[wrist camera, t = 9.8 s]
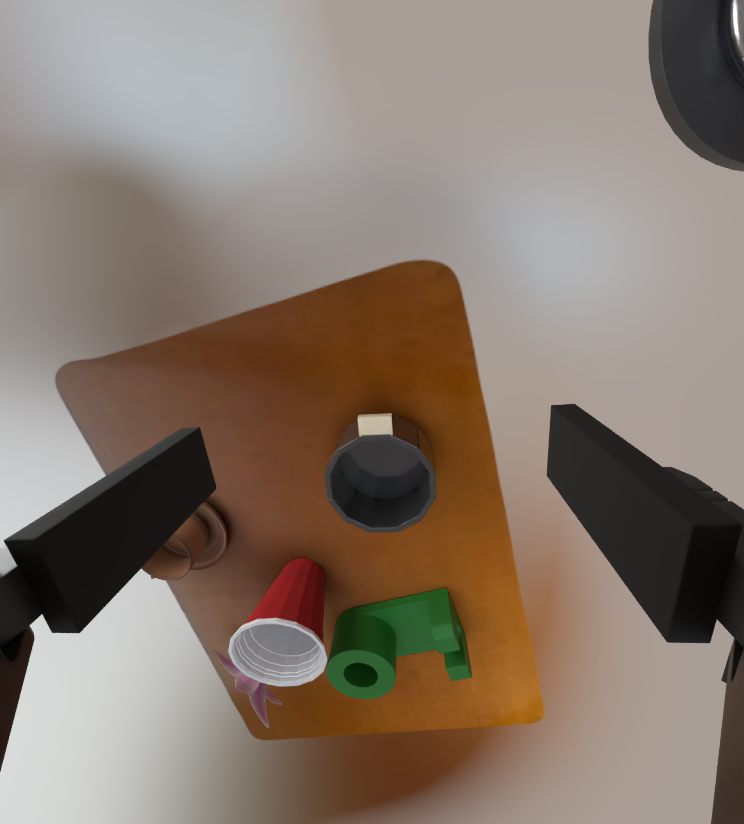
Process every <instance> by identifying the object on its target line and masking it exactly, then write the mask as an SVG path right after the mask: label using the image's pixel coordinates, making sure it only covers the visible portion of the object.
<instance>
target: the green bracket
mask: <svg viewBox="0 0 744 824" xmlns="http://www.w3.org/2000/svg"><path fill="white" fill-rule="evenodd" d="M437 649H438V651H439V653H444V655H445V665H446V670H447V672H448V674H449V677H450V679H451V681H454V680H461V679H467V678H472V671H471V665H470V660H469V654H468V648H467V642H466V636H465V633H464V631H463V628H462V625H461V623H460V620H459V618H458V615H457V613H456V610H455V608H454V605H453V602H452V600H451V597H450V595H449V592H448V590H447V588H443V589H438V590H434V591H429V592H425V593H420V594H415V595H411V596H406V597H401V598H397V599H392V600H388V601H383V602H378V603H374V604H369V605H364V606H360V607H355V608H352V609H349V610H347V611H345V612H344V613H342V614H341V615H340V616H339V618H338V619H337V622H336V626H335V631H334V635H333V640H332V645H331V650H330V654H329V659H328V664H327V670H326V673H327V677H328V680H329V681H330V683H331V684H332V685H333V687H334V688H336V689H337V690H338V691H340V692H341V693H343V694H345V695H347V696H350V697H353V698H358V699H374V698H378V697H381V696H383V695H385V694H387V693H388V692H389V691H390V690H391V689H392V688H393V686H394V684H395V679H396V657H399V656H404V655H410V654H415V653H420V652H426V651H431V650H437Z"/></svg>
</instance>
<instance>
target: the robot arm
mask: <svg viewBox="0 0 744 824" xmlns="http://www.w3.org/2000/svg"><path fill="white" fill-rule="evenodd" d="M719 32H720V40H721V46H722V50H723V54H724V57H725V60H726V62H727V65H728V67H729V69H730V71H731V73H732V74H733V76H734V77H735V79H736V80H737V82H738V83H739V84H740V85H741V86H742V87H743V88H744V0H721V1H720V10H719ZM547 476H548V478H549V479H550V480H551V482H552V484H553V485H554V486H555V488H556V489H557V490H558V492H559V493H560V495H561V496H562V497H563V499H564V500H565V502H566V503H567V504H568V506H569V507H570V508H571V510H572V511H573V513H574V514H575V515H576V517H577V518H578V520H579V521H580V522H581V524H582V525H583V526H584V528H585V529H586V531H587V532H588V533H589V535H590V536H591V537H592V539H593V540H594V542H595V543H596V544H597V546H598V547H599V549H600V550H601V551H602V553H603V554H604V556H605V557H606V558H607V560H608V561H609V562H610V564H611V565H612V567H613V568H614V569H615V571H616V572H617V574H618V575H619V576H620V578H621V579H622V580H623V582H624V583H625V585H626V586H627V587H628V589H629V590H630V592H631V593H632V594H633V596H634V597H635V598H636V600H637V601H638V603H639V604H640V605H641V607H642V608H643V610H644V611H645V612H646V614H647V615H648V616H649V618H650V619H651V621H652V622H653V623H654V625H655V626H656V628H657V629H658V630H659V632H660V633H661V635H662V636H663V637H664V639H665V640H666V641H667V642H670V643H671V642H673V643H710V641H711V638H712V634H713V631H714V627H715V623H716V620H718V621H719V622H720V623H721V624H722V625H723V626H724V627H725V628H726V629H727V630H728V632H729V633H730V634H731V635H732V636H733V637H734V641H733V644H732V647H731V651H730V654H729V657H728V661H727V664H726V667H725V670H724V673H723V677H722V681H723V682H725V683H727V685H726V694H725V703H724V712H723V721H722V730H721V739H720V748H719V757H718V766H717V775H716V785H715V794H714V803H713V812H712V820H711V824H744V509H742V508H741V507H739V506H738V505H736V504H735V503H733V502H732V501H728V499H727V498H726V497H724V496H723V495H721V494H720V493H718V492H717V491H713V490H712V488H711V487H709V486H708V485H706V484H705V483H703V482H702V481H700V480H699V479H697V478H696V477H694V476H692V475H689V474H687V473H685V472H682V471H680V470H677V469H675V468H672V467H662V466H660V465H659V464H658V463H656V462H655V461H653V460H652V459H651V458H649V457H648V456H646V455H645V454H644V453H642V452H641V451H639V450H638V449H637V448H635V447H634V446H632V445H631V444H630V443H628V442H627V441H625V440H624V439H623V438H621V437H620V436H619V435H617V434H616V433H614V432H613V431H612V430H610V429H609V428H607V427H606V426H605V425H603V424H602V423H600V422H599V421H598V420H596V419H595V418H593V417H592V416H591V415H589V414H588V413H587V412H585V411H584V410H582V409H581V408H580V407H578V406H577V405H575V404H565V405H552V406H551V417H550V432H549V449H548V465H547ZM215 490H216V484H215V481H214V477H213V473H212V470H211V466H210V463H209V459H208V455H207V452H206V448H205V444H204V441H203V437H202V434H201V430H200V427H195V428H181V429H180V430H178V431H177V432H175V433H173V434H172V435H170V436H169V437H167V438H166V439H164V440H162V441H161V442H159V443H158V444H156V445H154V446H153V447H151V448H150V449H148V450H147V451H145V452H143V453H142V454H140V455H139V456H137V457H135V458H134V459H132V460H131V461H129V462H127V463H126V464H124V465H123V466H121V467H120V468H118V469H116V470H115V471H113V472H112V473H110V474H108V475H107V476H105V477H104V478H102V479H101V480H99V481H97V482H96V483H94V484H93V485H91V486H89V487H88V488H86V489H85V490H83V491H81V492H80V493H79V494H77V495H75V496H74V497H72V498H70V499H69V500H67V501H66V502H64V503H63V504H61V505H59V506H58V507H56V508H55V509H53V510H51V511H50V512H48V513H47V514H45V515H44V516H42V517H40V518H39V519H37V520H36V521H34V522H32V523H31V524H29V525H28V526H26V527H24V528H23V529H21V530H20V531H18V532H16V533H15V534H13V535H12V536H10V537H9V538H7V539H5V540H4V542H5V544H6V545H4V546H3V547H1V548H0V771H1V767H2V763H3V759H4V755H5V752H6V748H7V744H8V740H9V736H10V732H11V728H12V724H13V720H14V717H15V712H16V709H17V704H18V701H19V697H20V693H21V689H22V686H23V681H24V678H25V674H26V670H27V666H28V662H29V658H30V654H31V651H32V646H33V642H34V633H33V631H32V630H31V628H30V626H29V625H30V624H31V623H33V622H34V621H35V620H36V619H37V618H38V617H39V616H40V615H41V614H43V616H44V618H45V620H46V622H47V624H48V626H49V628H50V630H51V631H52V633H80V632H81V631H82V630H83V629H84V628H85V627H86V626H87V625H88V624H89V623H90V621H92V619H93V618H94V617H95V616H96V615H97V614H98V613H99V612H100V611H101V610H102V609H103V608H104V607H105V606H106V604H108V603H109V601H110V600H111V599H112V598H113V597H114V596H115V595H116V594H117V593H118V592H119V591H120V590H121V589H122V588H123V587H124V586H125V585H126V584H127V583H128V581H129V580H130V579H131V578H132V577H133V576H134V575H135V574H136V573H137V572H138V571H139V570H140V569H141V568H142V567H143V566H144V565H145V563H146V562H147V561H148V560H149V559H150V558H151V557H152V556H153V555H154V554H155V553H156V552H157V551H158V550H159V549H160V548H161V547H162V546H163V544H164V543H165V542H166V541H167V540H168V539H169V538H170V537H171V536H172V535H173V534H174V533H175V532H176V531H177V530H178V529H179V528H180V527H181V525H182V524H183V523H184V522H185V521H186V520H187V519H188V518H189V517H190V516H191V515H192V514H193V513H194V512H195V511H196V510H197V509H198V507H199V506H200V505H201V504H202V503H203V502H204V501H205V500H206V499H207V498H208V497H209V496H210V495H211V494H212V493H213V492H214V491H215Z"/></svg>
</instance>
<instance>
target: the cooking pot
mask: <svg viewBox="0 0 744 824" xmlns="http://www.w3.org/2000/svg"><path fill="white" fill-rule="evenodd" d="M324 477H325V485H326V492H327V499H329V500H328V501H329V502H330V504H331V505H332V506H333V507H334V509H335V510H336V511H337V512H338V514H339V515H340V516H341V517H342V519H343V520H345V521H346V522H348V523H350V524H352V525H354V526H357V527H359V528H361V529H363V530H365V531H368V532H369V531H370V532H397V531H398V532H399V531H401V530H403V529H405V528H407V527H409V526H411V525H413V524H415V523H417V522H419V521H421V519H423V518H424V516H425V515H426V513H427V511H428V510H429V508H430V507H431V505H432V504H433V502H434V501H435V499H436V498H435V497H436V472H435V466H434V459H433V453H432V447H431V444H430V443H429V441H428V440H427V439H426V437H425V436H424V434H423V433H422V431H421V430H420V428H419V427H418V426H417V425H416V424H414V423H412V422H410V421H407V420H405V419H403V418H401V417H399V416H397V415H395V414H394V415H393V414H392V413H389V414H367V415H358V421H356V422H355V423H353V424H351V425H350V426H348V427H347V428H346V429H345V430H344V432H343V434H342V436H341V438H340V440H339V442H338V444H337V446H336V448H335V451H334V453H333V455H332V458H331V460H330V462H329V464H328V467H327V469H326V471H325V475H324Z"/></svg>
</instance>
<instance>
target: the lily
mask: <svg viewBox="0 0 744 824" xmlns="http://www.w3.org/2000/svg"><path fill="white" fill-rule="evenodd" d="M213 651H214V653H215V655H216V657H217V659H218V660H219V662H220V663H221V664H222V666H223V667H224V668H225V669H226V670H227V671H228V672H229V673H230V674H231V675H233V676H235V677H236V678H235V688H236V690H237V691H238V692H240V693H243V694H249V699H250V703H251V705H252V707H253V709H254V711H255V712H256V714H257V715H258V717H259V718H260V720H261V721H262V722H263V723H264V725H265V726H266V727H267V728H269V723H268V718H267V713H266V698H267V699H268V700H269V701H271V702H273V703H275V704H278V705H282V703H281V702H280V701H279V700H278V699H277V698H276V697H275V696H274V694H273V693H272V692H271V691H270V690H269V688H268V687H267V686H266V684H265V683H261V682H259V681H257V680H255V679H253V678H251V677H249V676H247V675H245V674H244V673H243V672H242V671H241V670H240V669H238V668H237V667H236V666H235V665H234V664H233V661H232V659H231V658H229V657H227V656H224V655H223V654H221V653H219V652H217V651H215V650H213Z"/></svg>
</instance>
